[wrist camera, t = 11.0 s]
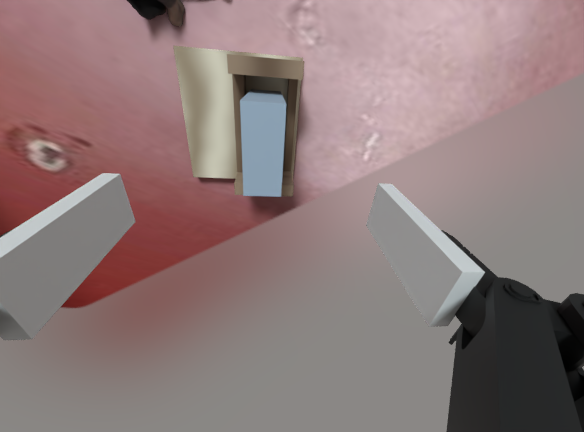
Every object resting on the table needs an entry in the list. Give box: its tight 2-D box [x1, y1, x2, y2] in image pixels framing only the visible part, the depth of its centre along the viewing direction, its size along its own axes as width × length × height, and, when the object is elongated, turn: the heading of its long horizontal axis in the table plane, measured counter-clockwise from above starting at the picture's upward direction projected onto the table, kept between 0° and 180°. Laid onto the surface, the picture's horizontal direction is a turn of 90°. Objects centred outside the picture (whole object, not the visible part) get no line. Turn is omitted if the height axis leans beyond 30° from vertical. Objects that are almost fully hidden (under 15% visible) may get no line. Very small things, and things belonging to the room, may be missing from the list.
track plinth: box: [173, 46, 304, 196], centre depth 28 cm, size 14×15×8 cm
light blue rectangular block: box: [240, 89, 286, 197], centre depth 25 cm, size 8×4×12 cm, turn 176°
